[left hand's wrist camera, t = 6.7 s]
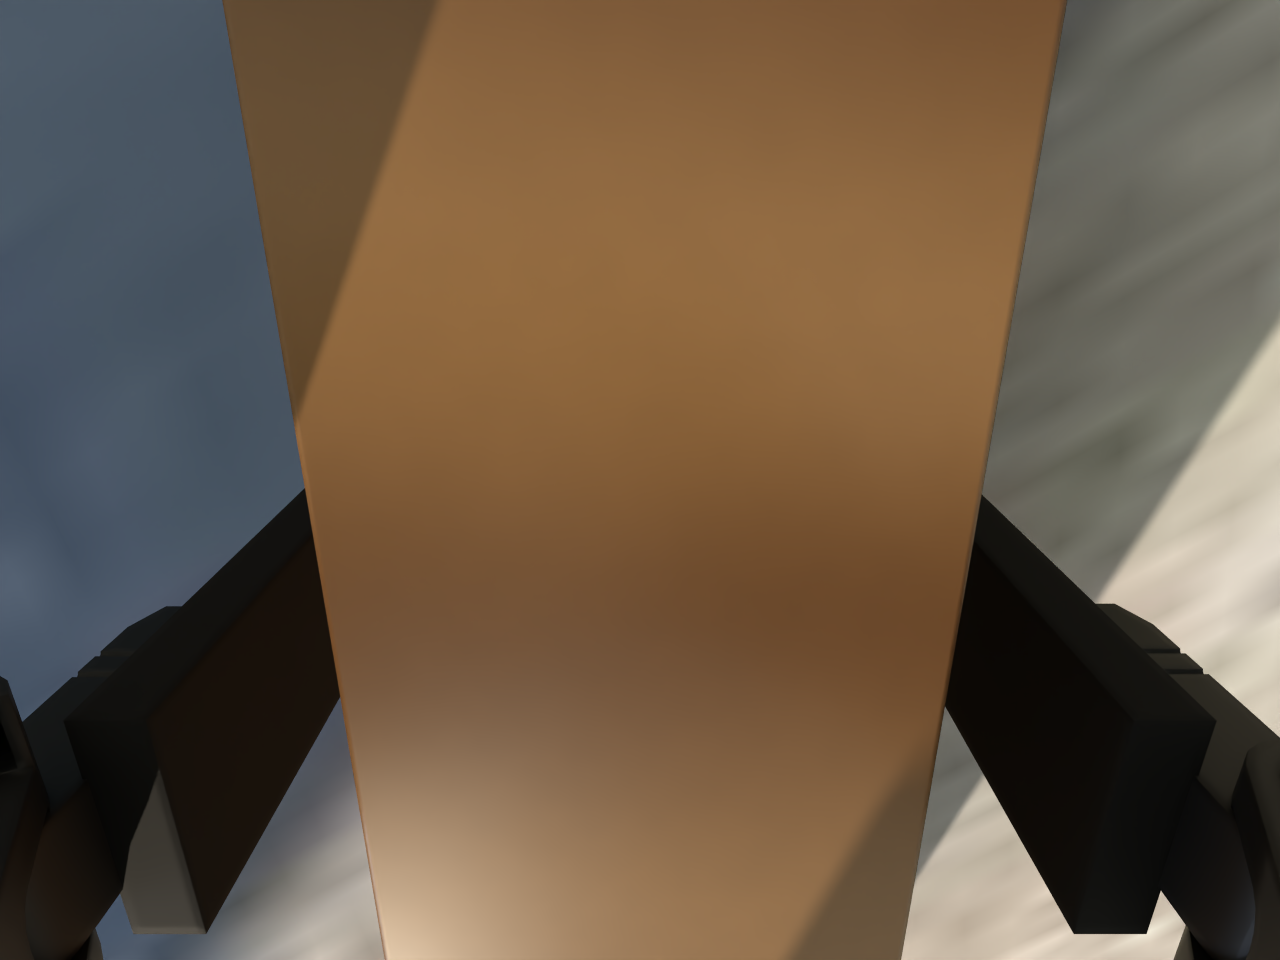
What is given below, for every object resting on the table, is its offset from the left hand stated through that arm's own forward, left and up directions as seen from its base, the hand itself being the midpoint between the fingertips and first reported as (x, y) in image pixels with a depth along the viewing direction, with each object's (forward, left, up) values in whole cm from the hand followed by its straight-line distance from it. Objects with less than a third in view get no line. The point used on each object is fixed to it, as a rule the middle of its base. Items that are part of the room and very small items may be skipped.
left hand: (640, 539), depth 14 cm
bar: (+13, +23, -1) cm, 26 cm away
